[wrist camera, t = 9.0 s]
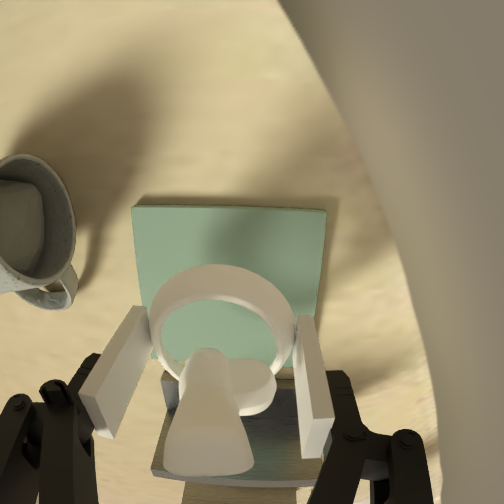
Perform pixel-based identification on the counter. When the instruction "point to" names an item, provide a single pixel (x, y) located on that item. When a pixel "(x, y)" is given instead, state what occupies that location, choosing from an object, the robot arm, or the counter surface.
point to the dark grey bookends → (263, 449)
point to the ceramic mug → (36, 233)
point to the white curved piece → (218, 371)
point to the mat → (235, 254)
